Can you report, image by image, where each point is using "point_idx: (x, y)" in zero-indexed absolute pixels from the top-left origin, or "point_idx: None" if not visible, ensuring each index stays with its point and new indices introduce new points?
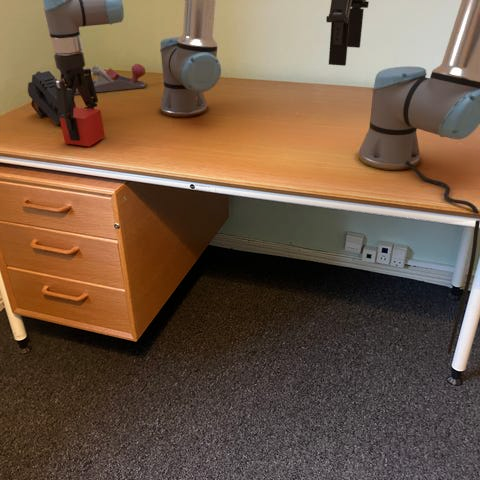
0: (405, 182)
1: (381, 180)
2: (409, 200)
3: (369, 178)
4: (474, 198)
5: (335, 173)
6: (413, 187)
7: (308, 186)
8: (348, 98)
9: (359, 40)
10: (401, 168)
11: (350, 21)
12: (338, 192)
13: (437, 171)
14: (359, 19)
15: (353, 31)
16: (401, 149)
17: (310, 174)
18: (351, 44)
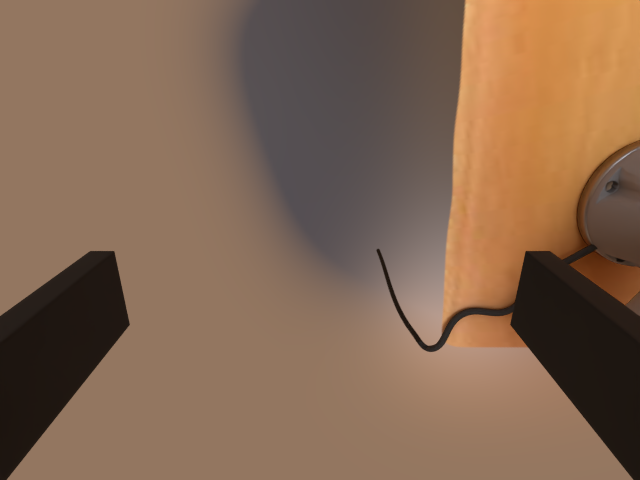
0: (524, 244)
1: (527, 201)
2: (450, 257)
3: (534, 178)
4: (478, 346)
5: (552, 102)
6: (504, 259)
7: (475, 57)
8: None
9: (530, 344)
10: (582, 233)
11: (621, 361)
12: (457, 129)
13: None
14: (614, 431)
15: (565, 341)
16: (616, 242)
17: (540, 44)
18: (526, 293)
